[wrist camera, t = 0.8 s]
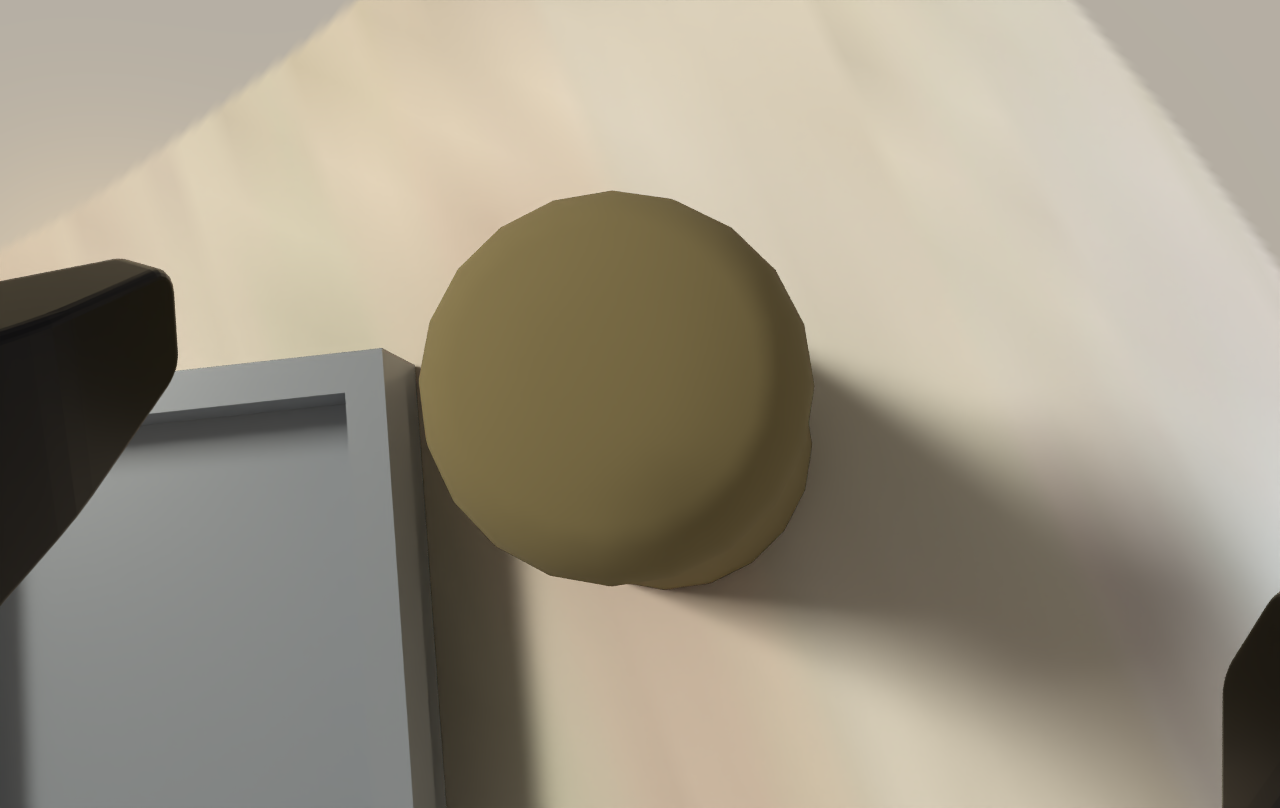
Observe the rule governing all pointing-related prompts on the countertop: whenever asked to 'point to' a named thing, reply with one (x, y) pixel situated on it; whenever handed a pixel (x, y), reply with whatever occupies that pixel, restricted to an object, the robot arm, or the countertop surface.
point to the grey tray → (237, 606)
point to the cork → (620, 393)
